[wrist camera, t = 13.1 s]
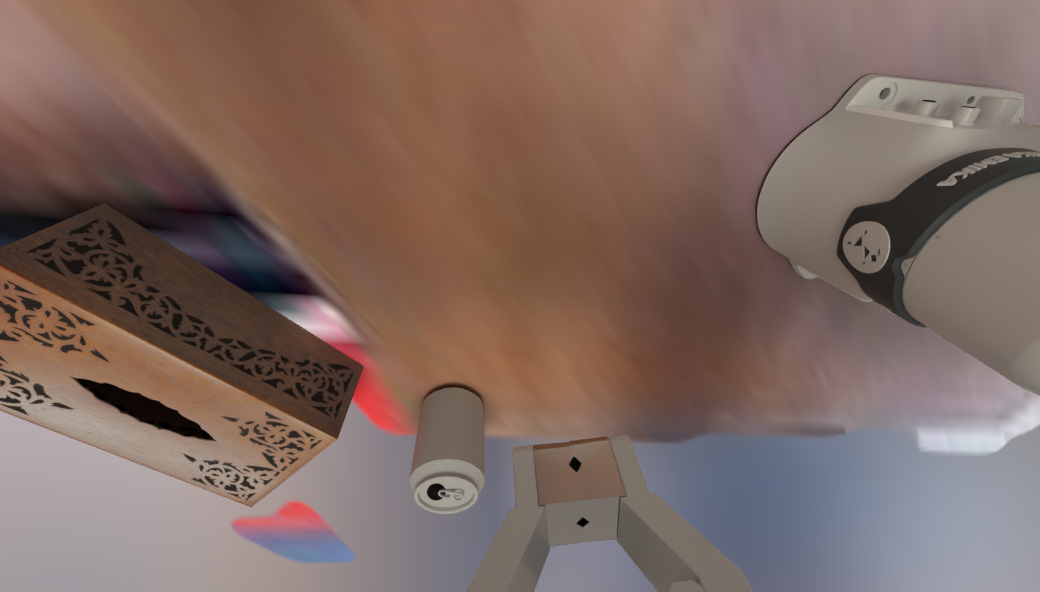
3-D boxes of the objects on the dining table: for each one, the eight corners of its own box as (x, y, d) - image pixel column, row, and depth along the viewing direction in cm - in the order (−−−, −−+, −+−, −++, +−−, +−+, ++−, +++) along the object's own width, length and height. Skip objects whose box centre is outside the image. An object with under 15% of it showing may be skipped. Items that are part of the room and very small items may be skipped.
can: (421, 380, 47) (405, 474, 37) (486, 383, 48) (487, 475, 38) (421, 424, 51) (407, 520, 41) (481, 425, 52) (481, 519, 42)
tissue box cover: (40, 302, 38) (-85, 377, 30) (106, 201, 34) (-18, 256, 25) (290, 427, 50) (251, 507, 41) (364, 364, 45) (337, 439, 37)
